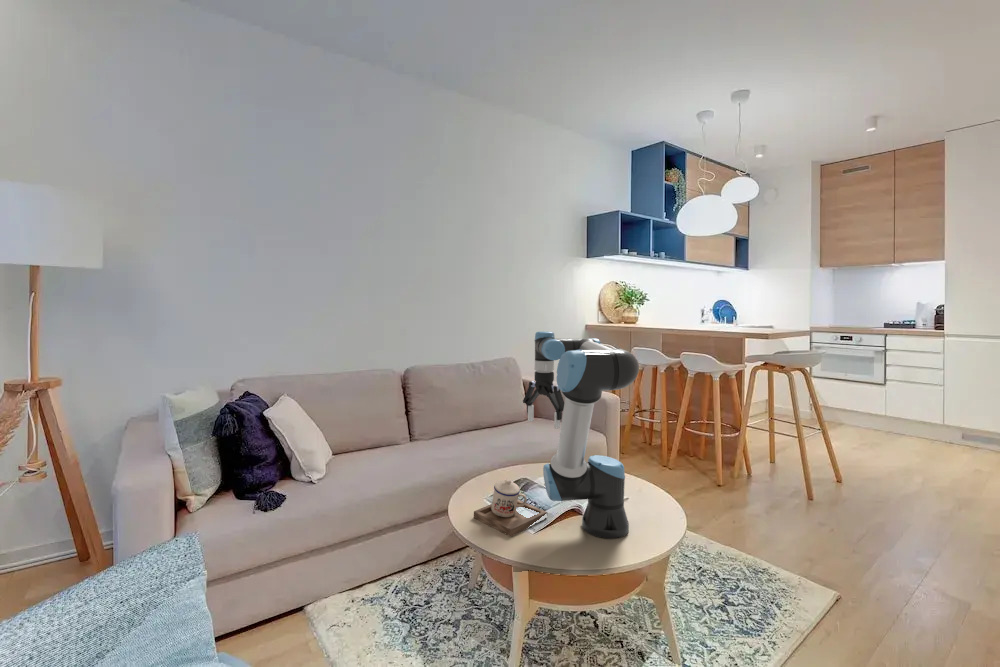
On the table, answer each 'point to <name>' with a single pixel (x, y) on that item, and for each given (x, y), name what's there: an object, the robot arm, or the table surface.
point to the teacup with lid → (506, 498)
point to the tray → (508, 519)
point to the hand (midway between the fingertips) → (543, 424)
